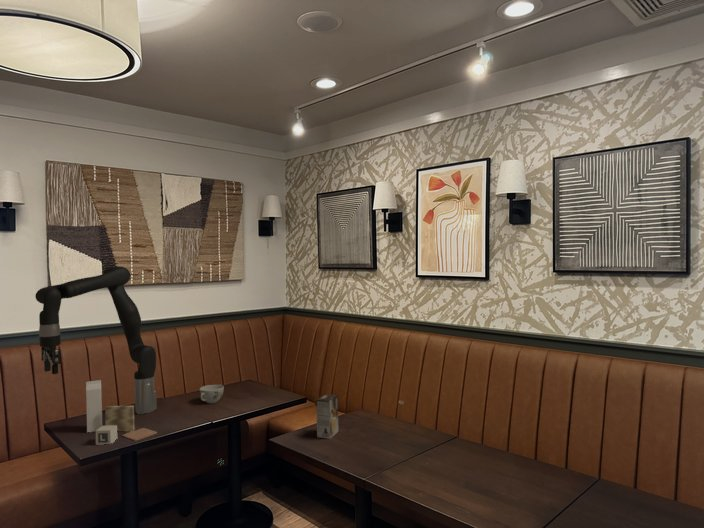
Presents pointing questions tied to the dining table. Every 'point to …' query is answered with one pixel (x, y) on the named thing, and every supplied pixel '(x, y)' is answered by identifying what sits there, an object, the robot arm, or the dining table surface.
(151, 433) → the coaster
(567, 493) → the dining table surface
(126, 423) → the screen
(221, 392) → the teacup
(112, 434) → the cube
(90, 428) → the milk
